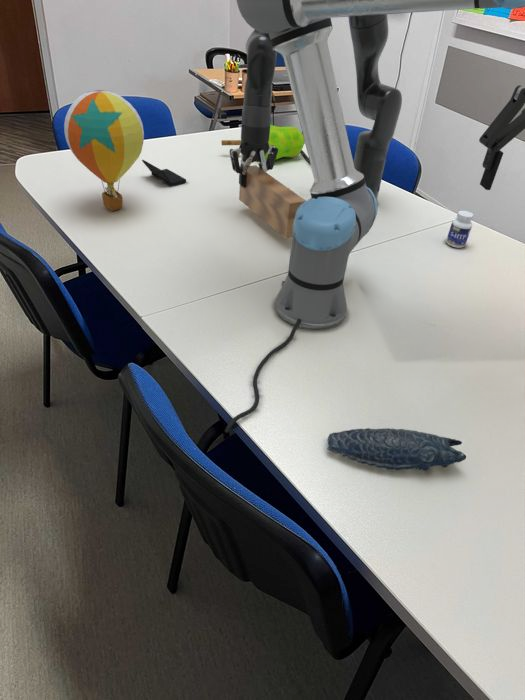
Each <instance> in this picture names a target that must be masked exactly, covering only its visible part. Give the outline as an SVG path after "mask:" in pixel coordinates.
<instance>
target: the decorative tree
mask: <svg viewBox="0 0 525 700" xmlns="http://www.w3.org/2000/svg"><path fill="white" fill-rule="evenodd" d="M240 144H241V139H231V140H229V139H226V140H224V139H223V140H221V146H240ZM268 144H269V146H272V145H273V146H275V147H276V148H278V153H277V156H276V160H275V161H277V160H279V159H281V158H294V157H296V156H298V155H299V154H301V150H302V151H303V148H304V146H305V141H304V137H303V133H302V131H300V129H298V128H297V127H296V126H276V125H273V124H270V135H269V141H268ZM268 154H269V153H268V152H267V153H266V155H265V160H267V157H268Z"/></svg>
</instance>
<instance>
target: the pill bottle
mask: <svg viewBox="0 0 525 700" xmlns="http://www.w3.org/2000/svg"><path fill="white" fill-rule="evenodd" d="M473 217H474V214H473V213H472V212H471V211H468V210H459V211H458V212H457V214H456V218H453V220H452V221H451V224H450V227H449V230H448V233H447V236H446V239H445V243H446V244H447V245H449V247H450V246H451V247H453V248H457V249H461V248H464V247H465V246H466V245H467V242H468V239H469V236H470V233H471V231H472V228H473V223H472V220H473Z"/></svg>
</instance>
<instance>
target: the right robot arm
mask: <svg viewBox="0 0 525 700" xmlns="http://www.w3.org/2000/svg"><path fill="white" fill-rule="evenodd" d="M347 18H348V25H349V31H350V39H351V43H352V49H353V58H354V64H355V65H354V66H355V74H356V93H357V94H356V95H357V106H358V110H359V112H360V114H361V115H362V116H363V117H365V118H367V119H369V120H371V121H374V122H373V126H372V128H371V130H364V131H361V132H360V133H359V134H358V136H357V141H356V147H355V153H354V158H353V163H354V168H355V169H356V170H357V171H359V172H361V173H362V174H363V175H364V179H365V183H366V186H367V187H368V188H370V189H371V191H372V192H373V194H374V196H375V198H376V201H377V202H378V197H379V193H380V188H381V184H382V179H383V174H384V170H385V165H386V161H387V156H388V152H389V147H390V144H391V142H392V139H393V137H394V135H395V131H396V128H397V125H398V120H399V117H400V113H401V109H402V105H403V104H402V103H403V95H402V92H401V90H400V89H398V88H396V87H393V86H390V85H388V84H387V85H386V84H384V83H382V82H381V80H380V74H379V61H380V58H381V56H382V54H383V51H384V49H385V47H386V45H387V42H388V39H389V21H388V20H389V19H388V14H382V15H366V16H350V17H347ZM245 54H246V63H247V64H246V79H245V81H244V90H243V105H242V110H241V127H240V128H241V129H240V140H241V144H240V145H238V148H235V149H234V148H230V149H229V156H230V161H231V167H232V171H234V172H235V173H236V174H238V184H239V186H240V185H241V187H243V188H246V178H247V175H246V172H247V170H248V167H250V166H251V164H252V163H255V162H256V163H257V164H258V165H257V166H258V167H259V168H260V169H262V170H263V171H265V172H266V173H268V171H269V170H270V171H272V170H273V169H274V167H275V163H276V161H277V160H276V156H277V153H278V148H276V147H275V146H273V145H272V146H269V144H268V141H269V135H270V125H271V123H272V122H271V121H272V97H273V81H274V77H275V71H276V66H277V65H276V64H277V56H278V55H277V54H278V53H277V52H276V51H274V50H273V48H272V44H271V40H270V37H269V34H267V33H262V32H259V31H257V30H255V29H253V31H252V32H251V34H250V35H249V36H248V38H247V40H246V43H245ZM267 152H268V153H269V154H268V157H267V160H265V155H266V153H267ZM240 154H241V156H240ZM300 154H301V155H302V156H303V157H304V159H305V160H306V161H307V162H308V163H309V164H310V160H309V157H308V154H306V153H305V152H304V150H303V149H302V150H301V152H300ZM240 157H241V158H240ZM239 158H240V160H239Z"/></svg>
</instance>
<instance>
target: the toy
mask: <svg viewBox="0 0 525 700" xmlns="http://www.w3.org/2000/svg"><path fill="white" fill-rule="evenodd" d="M63 128H64V130H63V131H64V132H63V133H64V137H65V141H66V144H67V146H68V148H69V150H70V151H71V152H72V154H73V156H75V158H76V159H77V161H78V162H80V163H81V165H83V166H84V167H85V168H86V169H87V170H88V171H90V172H91V173H92V174H93V175H94V176H96V177H97V178H98V179H100V180H101V183H102V184H101V185H102V187H103V191H102V193H101V198H102V203H103V205H104V207H105V208H106V209H108V210H109V211H110V212H113V211H118V210H121V209H122V208H123V203H124V201H123V195H122V194H121V193H120V192H119V191H118V190H119V188H120V183H118V182H120V181H121V178H122V177H123V176H124V175H125V174H126V173H127V172H128V171H129V170H130V169H131V167H133V165H134V164H135V163H136V161H137V160H138V159H139V158H140V155H141V153H142V150H143V147H144V141H145V131H144V130H145V129H144V125H143V121H142V119H141V116H140V114H139V113H138V111H137V109H136V108H134V106H133V105H132V103H130V102H129V101H128V100H127V99H126V98H124V97H123V96H122V95H119V94H117V93H115V92H112V91H109V90H102V89H101V90H100V89H98V90H92V91H87V92H85V93H82V95H79V96H78V97H77V98H76V99H75V100H73V102H72V103H71V105H70V107H69V108H68V111H67V112H66V114H65V118H64V124H63ZM104 183H105V184H106V185H107V186H106V187H105V186H104ZM115 183H118V185H117V190H116V188H115Z"/></svg>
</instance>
